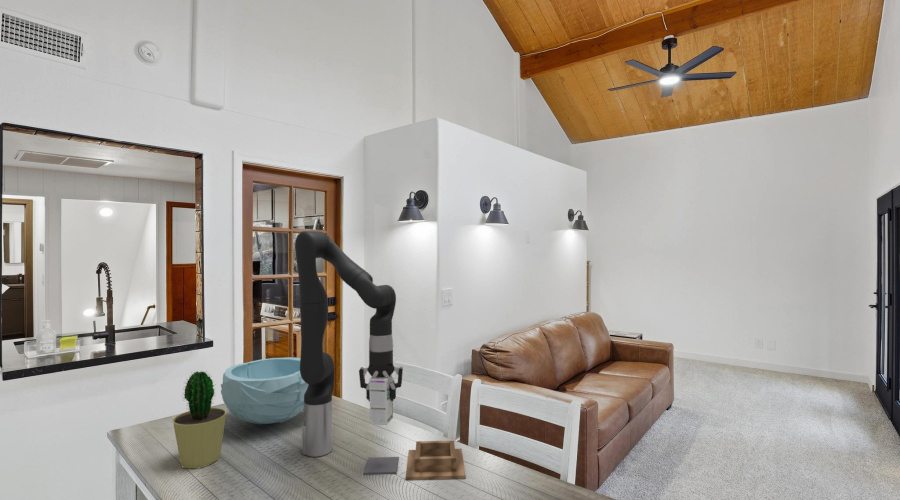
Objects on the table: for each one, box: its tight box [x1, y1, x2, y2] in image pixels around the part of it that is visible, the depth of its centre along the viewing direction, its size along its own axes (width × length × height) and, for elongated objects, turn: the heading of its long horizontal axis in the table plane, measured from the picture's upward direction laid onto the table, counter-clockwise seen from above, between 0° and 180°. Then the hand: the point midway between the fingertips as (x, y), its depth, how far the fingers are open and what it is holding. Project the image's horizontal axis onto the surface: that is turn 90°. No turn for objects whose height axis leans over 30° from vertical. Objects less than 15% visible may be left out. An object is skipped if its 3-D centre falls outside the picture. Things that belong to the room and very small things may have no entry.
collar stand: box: [405, 440, 467, 481], centre depth 145 cm, size 18×18×5 cm
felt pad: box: [363, 456, 400, 475], centre depth 145 cm, size 10×10×1 cm
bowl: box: [220, 356, 309, 425], centre depth 181 cm, size 35×35×22 cm
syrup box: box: [368, 374, 394, 426], centre depth 145 cm, size 6×6×14 cm
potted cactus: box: [172, 370, 228, 469], centre depth 149 cm, size 15×15×30 cm
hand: (381, 400), depth 145 cm, fingers closed on syrup box, 6 cm apart
